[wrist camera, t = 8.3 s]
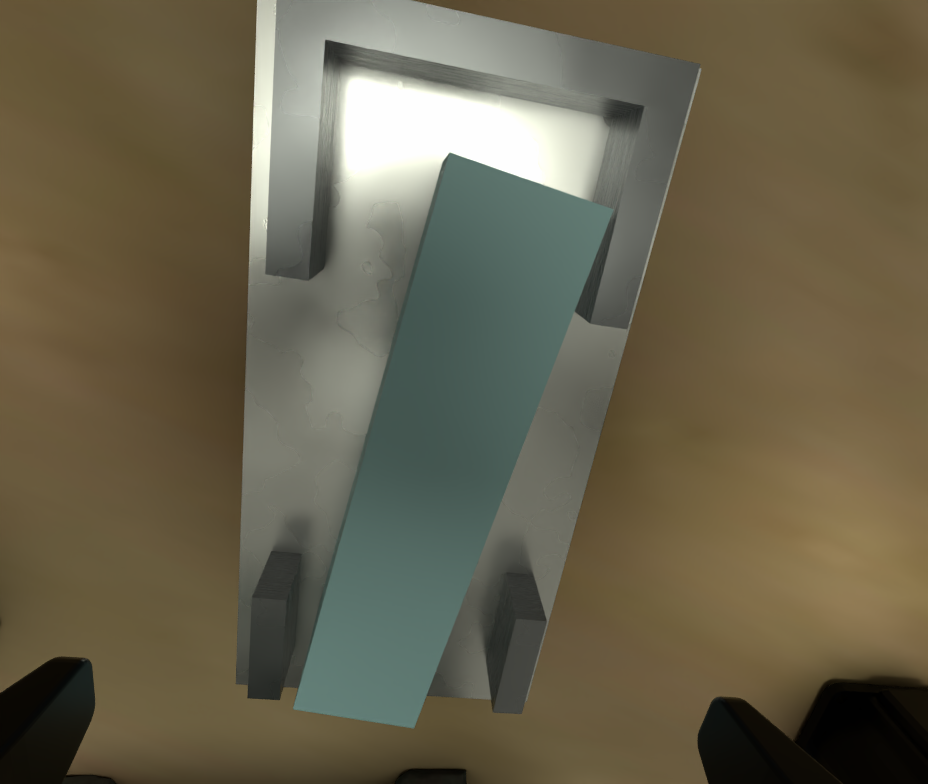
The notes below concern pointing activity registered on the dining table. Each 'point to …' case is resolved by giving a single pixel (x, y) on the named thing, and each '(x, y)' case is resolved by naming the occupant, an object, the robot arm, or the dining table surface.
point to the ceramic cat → (413, 780)
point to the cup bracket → (386, 281)
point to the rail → (445, 432)
